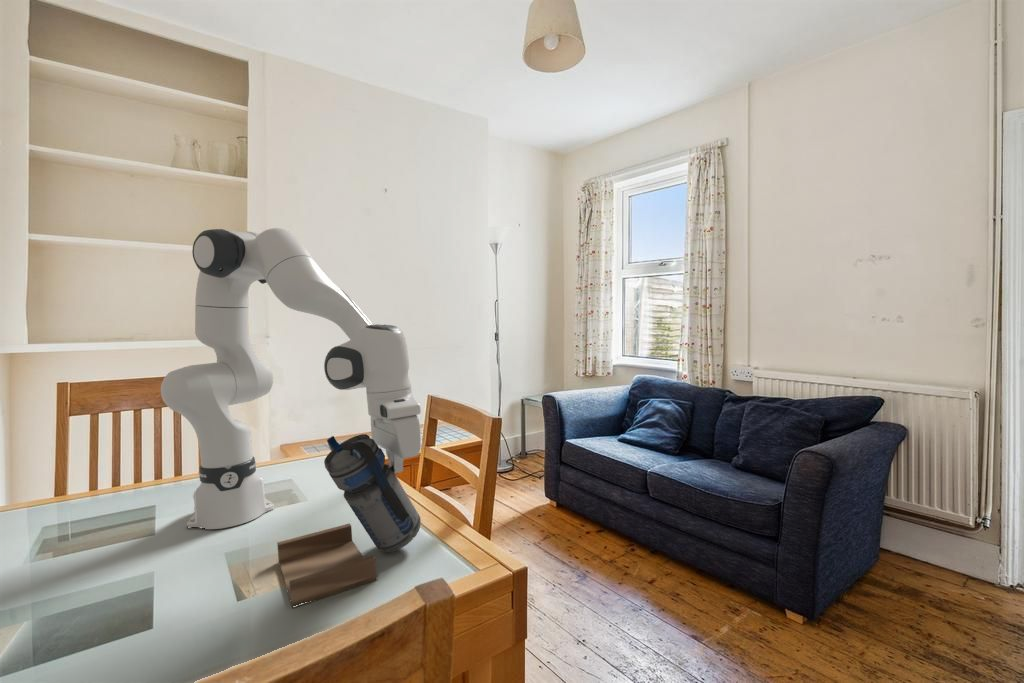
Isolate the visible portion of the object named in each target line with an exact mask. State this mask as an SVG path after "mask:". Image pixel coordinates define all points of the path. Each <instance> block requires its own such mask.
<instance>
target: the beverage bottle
mask: <svg viewBox="0 0 1024 683" xmlns="http://www.w3.org/2000/svg"><path fill="white" fill-rule="evenodd" d="M326 442H327V444H328V448H329V450H330V452H329V453H328V454H327V456H326V457H325V458H324V461H323V462H324V468H325V469H326V471H327V472H328V475H329V476H330V477H331V480H332V481H333V482H334V485H336V487H337V488H338V490H341V491H343V498H344V499H345V501H346V503H347V504H348V506H349V507H350V508H351V510H352V512H353V514H354V515H355V516H356V518H357V519H358V521H359V522H360V524H361V525H362V527H363V528H364V531H365V532H366V534H367V535H368V536H369V537H370V540H372V542H373V544H374V546H375V548H377V549H378V550H379V551H382V552H384V553H392V552H396V551H398V550H401V549H403V548H404V547H406V546H407V545H409V543H411V542H412V541H413V540H414V538H415V537H416V536H417V535H418V533H419V531H420V529H421V516H420V514H419V513H418V511H417V509H416V508H415V506H414V504H413V503H412V500H411V499H410V497H409V496H408V494H407V491H405V489H404V487H403V486H402V484H401V482H400V480H399V479H398V477H397V475H396V473H395V472H393V470H392V469H391V467H390V464H386V455H385V453H384V451H383V450H382V447H380V446H379V445H377V444H376V443H375V441H374V440H373V439H372V438H371V437H370V436H369V434H365V433H363V434H358V435H355V436H353V437H350V438H348V439H346V440H344V441H342V442H341V443H339V442H338V441H337V439H336V438H335V436H334V435H331V437H329V438H328V439H327V440H326Z"/></svg>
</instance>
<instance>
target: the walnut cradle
mask: <svg viewBox="0 0 1024 683" xmlns="http://www.w3.org/2000/svg"><path fill="white" fill-rule="evenodd" d="M352 532H353V531H352V525H351V524H350V523H346V524H341V525H337V526H335V527H331V528H328V529H327V528H326V529H323V530H319V531H317V532H316V531H315V532H312V533H308V534H303V535H301V536H297V537H293V538H289V539H285V540H281V541H277V542H276V544H277V546H276V547H277V555H278V564H279V568H280V571H281V574H282V579H283V582H284V585H285V589H286V588H287V589H286V591H287V590H288V592H287V595H288V594H289V595H288V598H289V597H290V599H289V601H290V600H291V602H290V604H292V606H291V608H292V607H293V606H296V605H299V604H301V603H305V602H310V601H313V602H315V601H314V600H316V601H318V599H319V600H321V599H324V598H328V597H330V596H334V595H336V594H339V593H342V592H344V591H348V590H352V589H354V588H357V587H360V586H363V585H366V584H369V583H373V582H376V581H377V580H378V579H377V567H376V557H375V556H374V555H369V556H366V557H364V556H363V554H362V552H361V551H360V550H359V548H358V547H357V545H356V544H355V542H354V540H353V533H352ZM310 603H311V602H310Z"/></svg>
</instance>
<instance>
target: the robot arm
mask: <svg viewBox="0 0 1024 683" xmlns="http://www.w3.org/2000/svg"><path fill="white" fill-rule="evenodd" d="M192 259H193V262H194V264H195V266H196V267H197V269H198V270H199V274H198V278H197V282H196V289H195V300H194V301H195V302H194V304H195V305H194V307H195V308H194V309H195V310H194V311H195V312H194V313H195V314H194V316H195V317H194V319H195V320H194V334H195V337H196V338H197V340H198V341H200V342H201V344H203V345H205V346H207V347H209V348H211V349H213V351H214V353H215V356H216V362H210V363H200V364H191V365H186V366H184V367H180V368H177V369H174V370H172V371H169V372H168V373H167V374H166V375H165V376H164V378H163V380H162V382H161V384H160V385H161V386H160V396H161V399H162V401H163V403H164V404H165V405H166V406H167V407H168V408H169V409H170V410H171V411H173V412H175V413H177V414H179V415H181V416H183V417H184V418H185V419H186V420H187V421H188V422H189V423H190V425H191V426H192V428H193V429H194V431H195V434H196V437H197V442H198V448H199V456H200V466H199V471H198V474H199V481H200V482H201V483H200V484H199V485H198V487H197V488H196V490H195V491H194V492H193V495H192V496H193V502H194V506H193V507H194V513H193V514H192V516H191V517H190V518H189V520H188V521H187V522H186V526H188V527H202V528H205V529H204V530H218V529H227V528H231V527H235V526H239V525H243V524H245V523H248V522H251V521H253V520H255V519H257V518H259V517H261V516H262V515H264V514H265V513H267V512H269V511H271V510H273V509H274V508H275V504H274V503H273V502H271V501H270V500H269V499H267V497H266V493H265V486H264V479H263V478H262V477H261V476H259V475H258V474H257V473H256V471H257V468H256V465H257V462H256V458H255V457H254V454H253V442H252V431H251V428H250V427H249V425H247V424H246V423H244V422H242V421H241V420H237V419H234V418H233V417H232V415H231V413H230V410H229V406H231V405H232V406H233V405H238V404H243V403H248V402H251V401H255V400H257V399H259V398H261V397H263V396H266V395H268V393H270V391H271V390H272V387H273V383H274V376H273V372H272V370H271V367H269V365H268V364H267V363H266V362H264V361H263V360H262V359H260V358H259V357H258V355H257V354H256V352H255V351H254V350H255V349H254V348H253V345H252V344H251V339H250V331H249V290H250V286H251V285H252V284H253V283H254V282H257V281H258V282H259V283H260V284H267V285H268V287H269V288H270V290H271V291H272V293H273V295H274V296H275V297H276V298H277V300H279V301H280V302H281V304H283V305H284V306H285V307H287V308H289V309H290V310H293V311H297V312H300V313H305V314H308V315H309V314H310V315H314V316H317V317H320V318H323V319H326V320H328V321H331V322H333V323H334V324H336V325H337V326H338V327H339V328H340V329H341V331H343V333H344V334H345V335H346V337H348V339H349V340H347V341H345V342H343V343H341V344H339V345H336V346H334V347H332V348H331V349H330V350H329V351H328V352H327V354H326V356H325V357H324V358H325V359H324V362H323V368H324V373H325V378H326V380H327V381H328V383H329V384H330V385H331V386H333V388H335V389H337V390H340V391H341V390H343V391H351V390H355V389H363V388H365V389H366V403H367V413H368V415H369V416H370V431H371V433H370V434H371V439H373V440H374V441H375V443H376V444H377V445H378V447H380V448H383V449H385V453H386V457H387V459H388V462H389V464H388V465H389V466H390V467H391V469H392V470H393V472H394V474H399V473H402V472H403V471H404V459H409V458H413V457H417V456H419V455H420V452H421V447H422V446H421V445H422V444H421V442H422V441H421V425H420V424H421V423H420V419H419V416H418V415H421V405H420V403H419V402H418V401H417V400H416V398H415V397H414V395H413V393H412V383H411V382H410V378H409V370H410V362H409V361H410V360H409V352H408V345H407V341H406V337H405V335H404V331H403V330H402V329H401V328H399V327H398V326H396V325H392V324H391V325H390V324H380V323H379V324H377V323H376V324H373V323H372V321H371V320H370V319H369V317H368V316H367V315H366V314H365V313H364V312H363V310H362V309H361V308H360V306H359V305H357V304H356V302H355V301H354V300H353V299H352V298H351V296H350V295H348V293H346V292H345V291H344V290H342V289H341V288H340V287H339V286H338V285H337V284H335V283H334V281H333V280H331V278H330V277H329V276H328V275H327V274H326V273H325V271H323V270H322V268H321V267H320V265H319V264H318V263H317V262H316V260H315V258H314V257H313V256H312V255H311V254H310V252H309V251H308V249H307V248H306V247H305V246H304V245H303V243H302V242H301V241H300V240H299V239H298V238H297V237H296V236H294V235H293V233H291V232H290V231H288V230H286V229H285V228H280V227H273V228H269V229H265V230H264V231H262V232H260V233H258V232H257V233H256V232H252V231H240V230H239V231H238V230H226V229H223V228H213V229H206V230H203V231H202V232H200V233H199V234H198V235H197V237H196V238H195V239H194V242H193V243H192ZM202 528H201V529H202Z"/></svg>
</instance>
